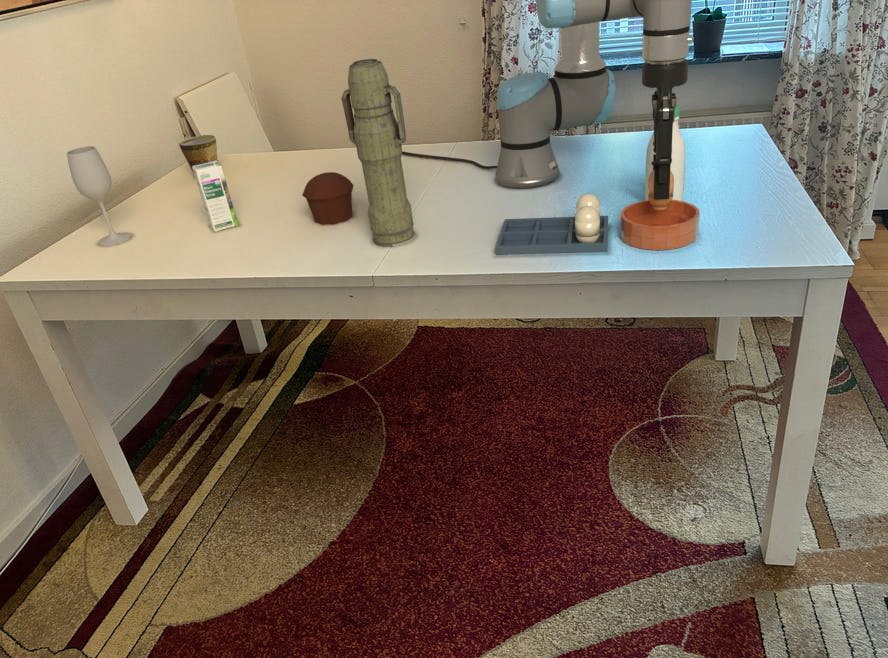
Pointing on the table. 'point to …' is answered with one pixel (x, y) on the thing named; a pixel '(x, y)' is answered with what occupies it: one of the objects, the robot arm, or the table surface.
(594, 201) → the cream egg
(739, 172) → the table surface
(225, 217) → the syrup box
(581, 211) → the cream egg
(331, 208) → the muffin
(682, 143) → the milk bottle
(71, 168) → the wineglass
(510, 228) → the egg tray
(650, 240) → the bowl
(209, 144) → the ceramic cup
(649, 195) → the brown egg
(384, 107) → the thermos
